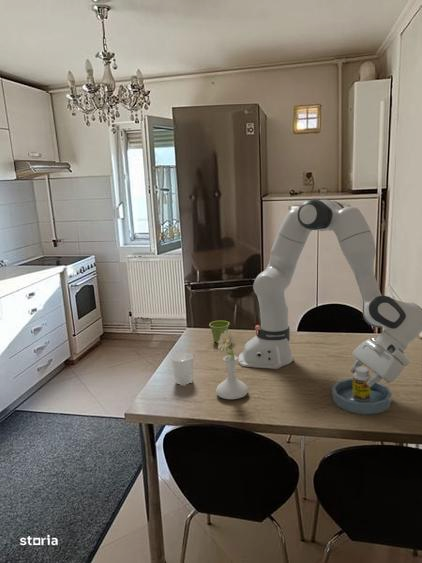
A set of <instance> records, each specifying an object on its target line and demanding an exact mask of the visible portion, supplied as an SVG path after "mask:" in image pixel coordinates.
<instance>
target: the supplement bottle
mask: <svg viewBox="0 0 422 563" xmlns="http://www.w3.org/2000/svg"><path fill="white" fill-rule="evenodd" d="M352 374H353V373H352ZM352 378H353V392H352V396H353V398H354V399H356V400H359V401H367V400H369V399H370V387H369V386H368V385H367V384H366V383H365V381H367V379H371V378H372V376H371V374H370V373H369V368H368V367H366V366H359V367H357V368H356V371H355V373H354V374H353V375H352Z"/></svg>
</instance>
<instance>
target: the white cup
mask: <svg viewBox="0 0 422 563" xmlns="http://www.w3.org/2000/svg"><path fill="white" fill-rule="evenodd" d="M171 361H172V362H171V363H172V369H173V376H174V380H175V381H174V382H175V384H176V383H177V384H180V385H179V386H187V385H186V384H189V383H191V384H192V383H193V382H194V355H193V354H191V353H187V352H181V353H177V354H175V355H173V356H172V358H171ZM192 381H193V382H192ZM177 384H176V385H177ZM189 385H190V384H189Z"/></svg>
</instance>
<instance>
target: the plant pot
mask: <svg viewBox="0 0 422 563" xmlns="http://www.w3.org/2000/svg"><path fill="white" fill-rule="evenodd" d="M208 326H209V327H210V329H211V334H212V339H213V342H214V343H215V342H216V344H219V343H218V341H219V340H220V336H221V334H222V333H223V334H224V331H226V330H227V332H228V331H229V326H230V322H229V321H226V320H214V321H211V322H210V323H209V325H208Z"/></svg>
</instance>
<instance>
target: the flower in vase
mask: <svg viewBox="0 0 422 563" xmlns="http://www.w3.org/2000/svg"><path fill="white" fill-rule="evenodd" d="M232 339H233V334H232V332H231V331H230V330H229V329H228V332H227V330H226V331H224V334H223V333H222V334H221V336H220V340H219V341H218V343H217V344H218V346H217V350H219V353H225V352H226V353H227V354H228V355H225V356H223V361H224V362H225V364H226V368H227V378H226V379H225V380H223V381H221V383H219V384H218V385H217V387H216V389H215V393H216V394H217V395H218V397H220V398H222V399H225V400H236V399H237V400H238V399H241V398H244V397H245V396H246V395H247V394H248V393H249V388H248V385H246V384H245V383H244V382H243V381H241V380H240V379H238V378H236V375H235V367H236V366H235V365H236V363H237V360H238V358H239V356H236V355H235V352H233V351H234V350H233V348H232V345H231V344H232V341H233V340H232Z"/></svg>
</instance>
